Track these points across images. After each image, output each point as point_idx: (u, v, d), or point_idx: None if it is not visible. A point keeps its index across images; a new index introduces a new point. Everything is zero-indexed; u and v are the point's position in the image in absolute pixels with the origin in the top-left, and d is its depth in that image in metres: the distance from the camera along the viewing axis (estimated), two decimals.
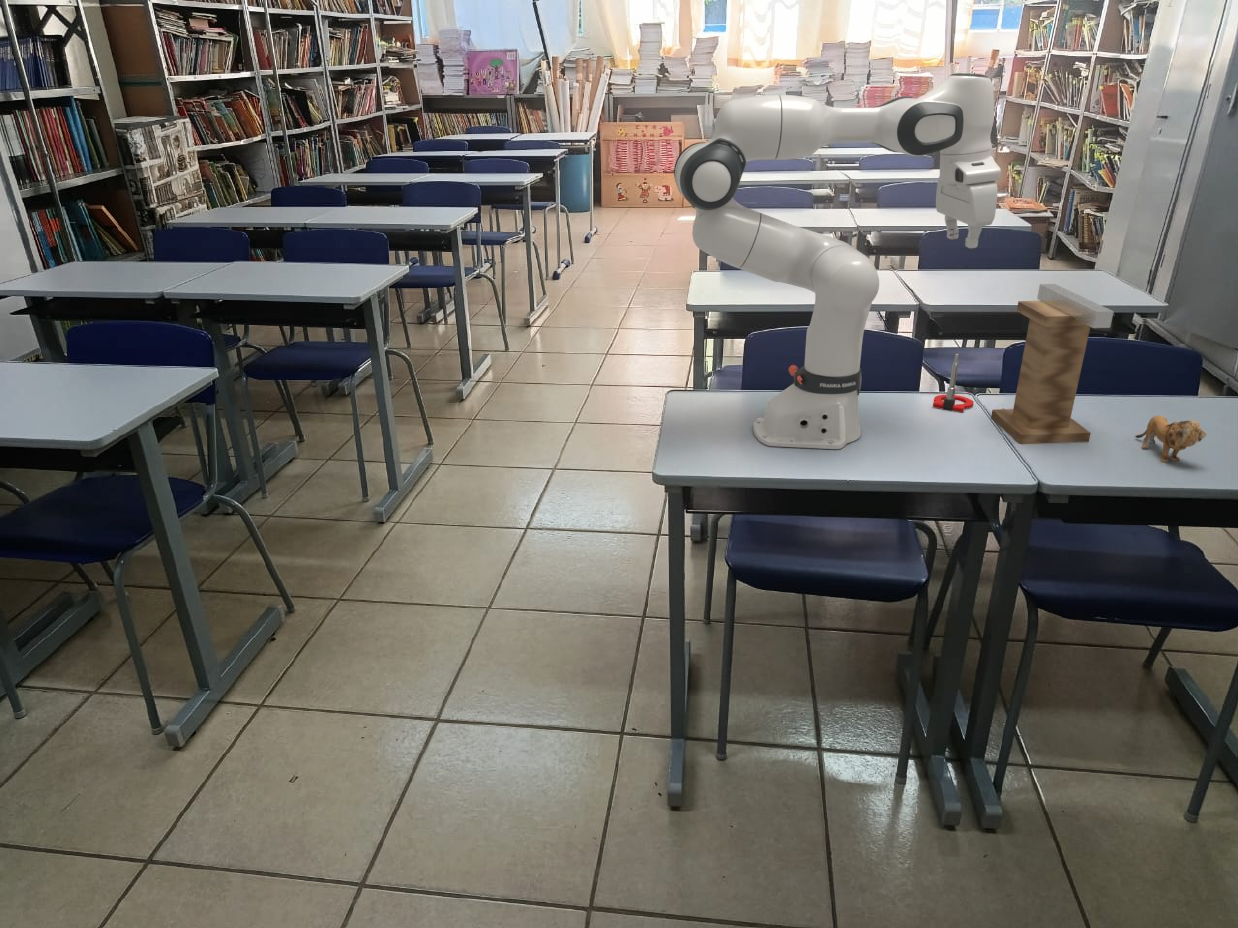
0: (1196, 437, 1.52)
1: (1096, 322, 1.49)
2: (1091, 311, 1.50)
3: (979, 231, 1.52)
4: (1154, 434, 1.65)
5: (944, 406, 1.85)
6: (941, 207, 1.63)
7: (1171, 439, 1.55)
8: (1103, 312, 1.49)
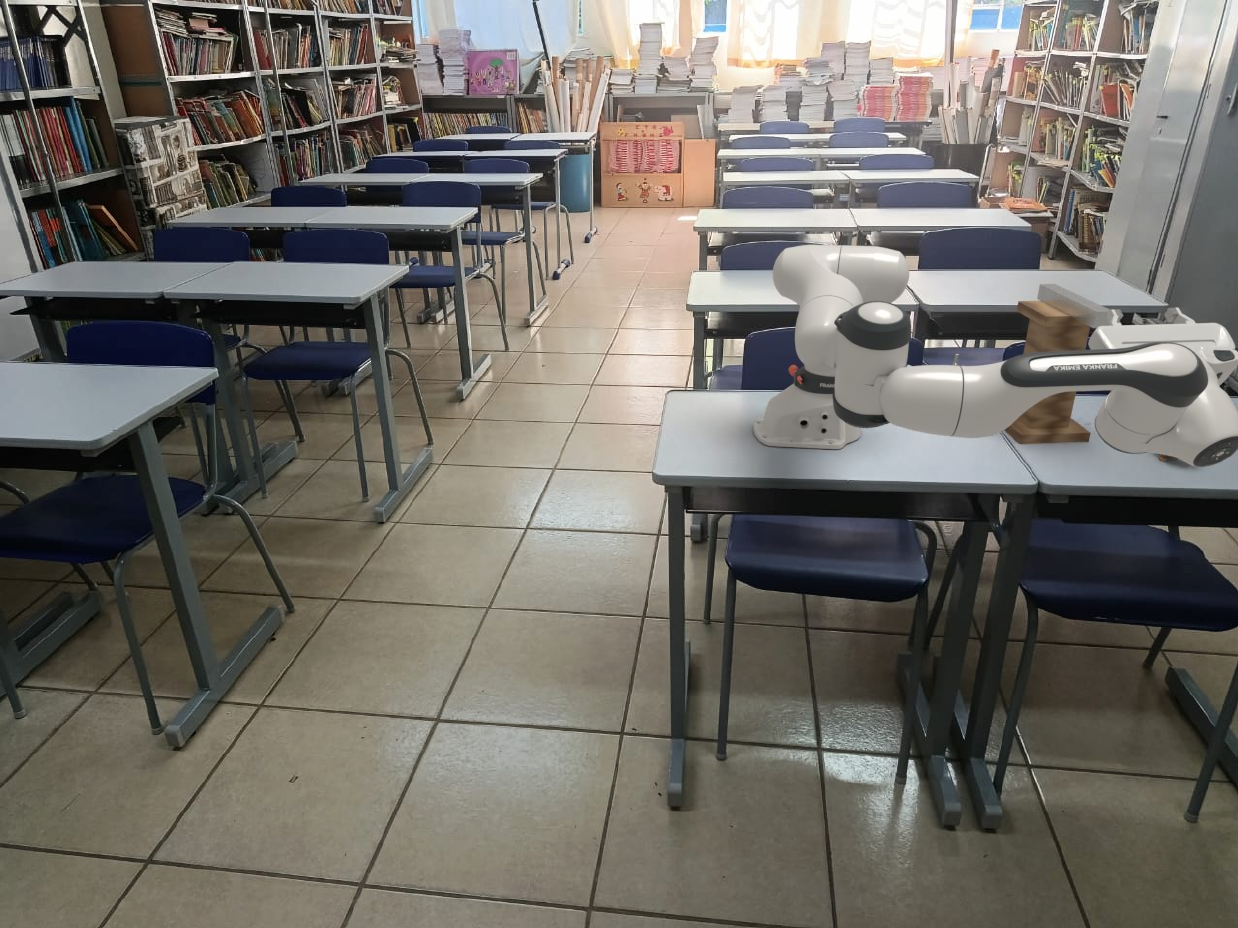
0: None
1: (1096, 322, 1.49)
2: (1091, 311, 1.50)
3: None
4: None
5: None
6: None
7: None
8: (1103, 312, 1.49)
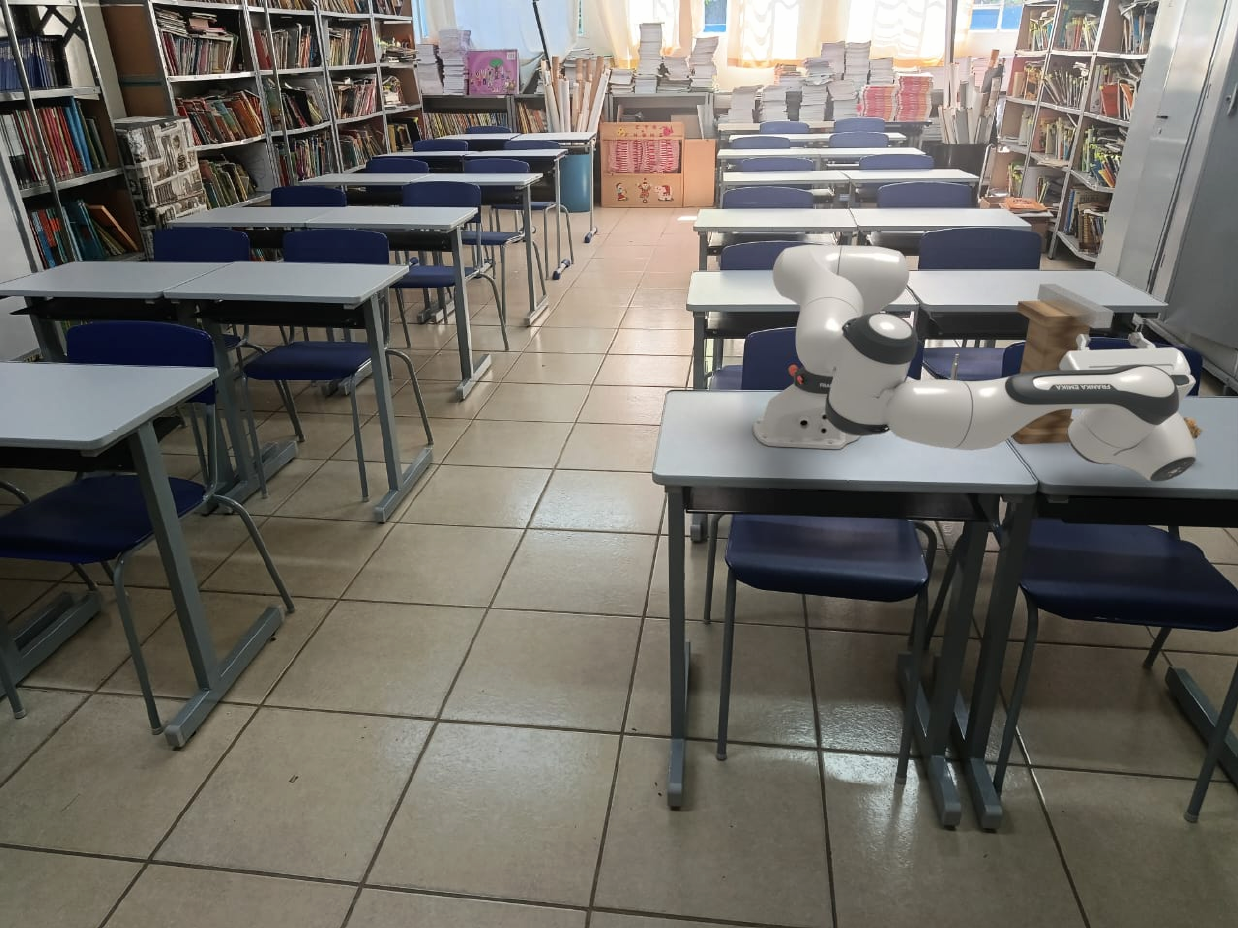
0: (1192, 434, 1.54)
1: (1096, 322, 1.49)
2: (1091, 311, 1.50)
3: None
4: None
5: None
6: None
7: None
8: (1103, 312, 1.49)
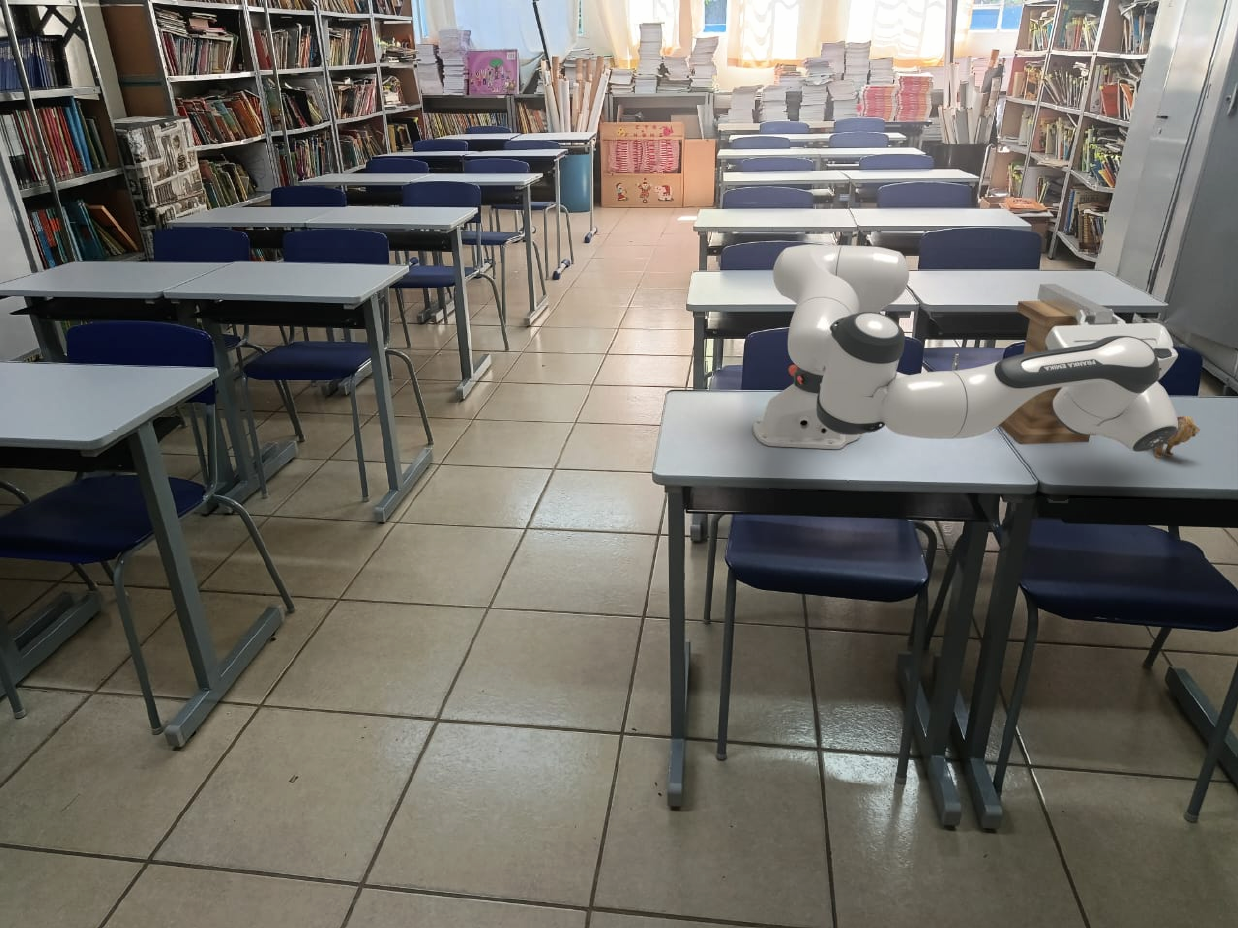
0: (1190, 433, 1.54)
1: (1096, 322, 1.49)
2: (1091, 311, 1.50)
3: None
4: None
5: None
6: None
7: None
8: (1103, 312, 1.49)
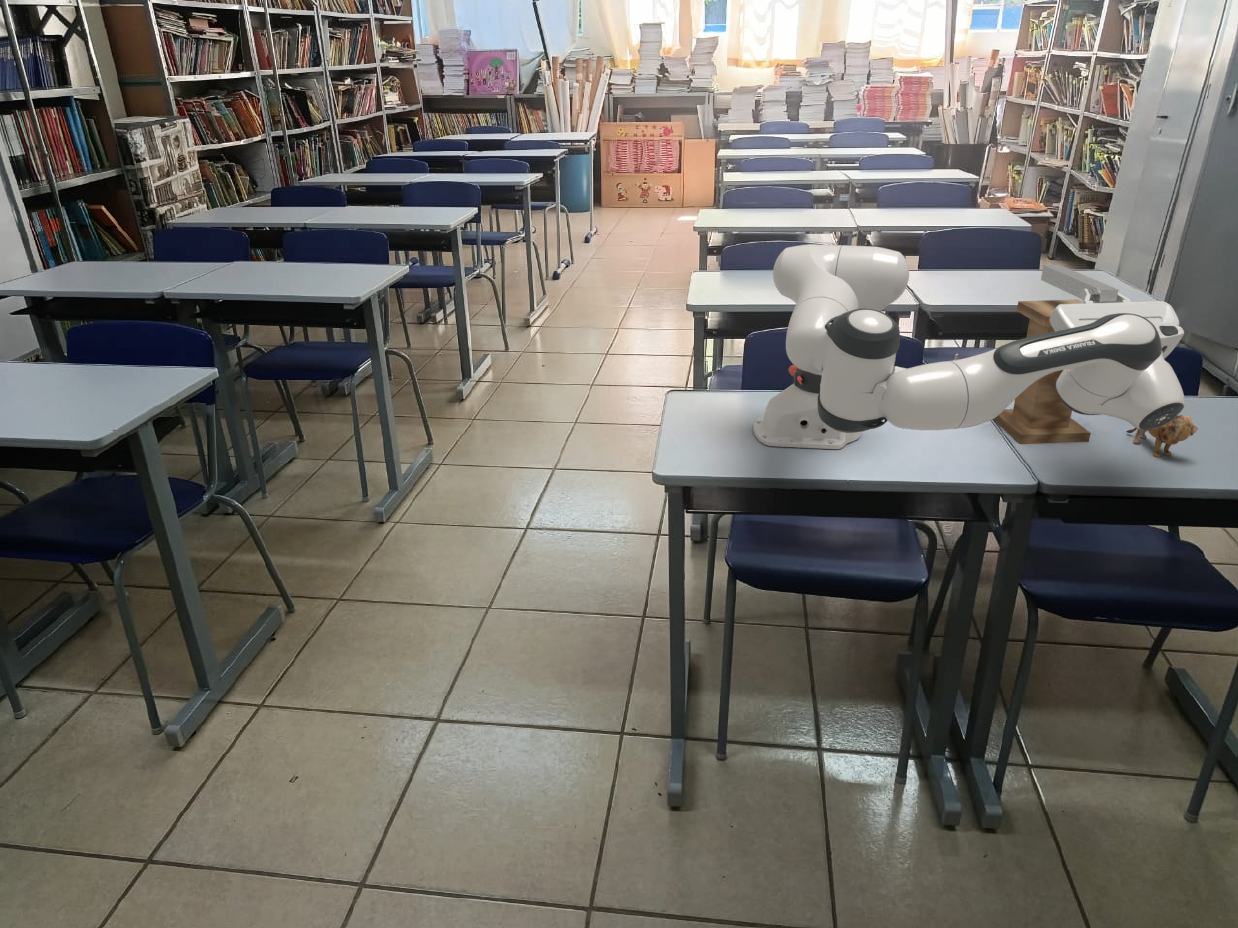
0: (1188, 431, 1.55)
1: (1101, 301, 1.48)
2: (1096, 290, 1.49)
3: None
4: None
5: None
6: None
7: (1164, 434, 1.58)
8: (1108, 290, 1.47)
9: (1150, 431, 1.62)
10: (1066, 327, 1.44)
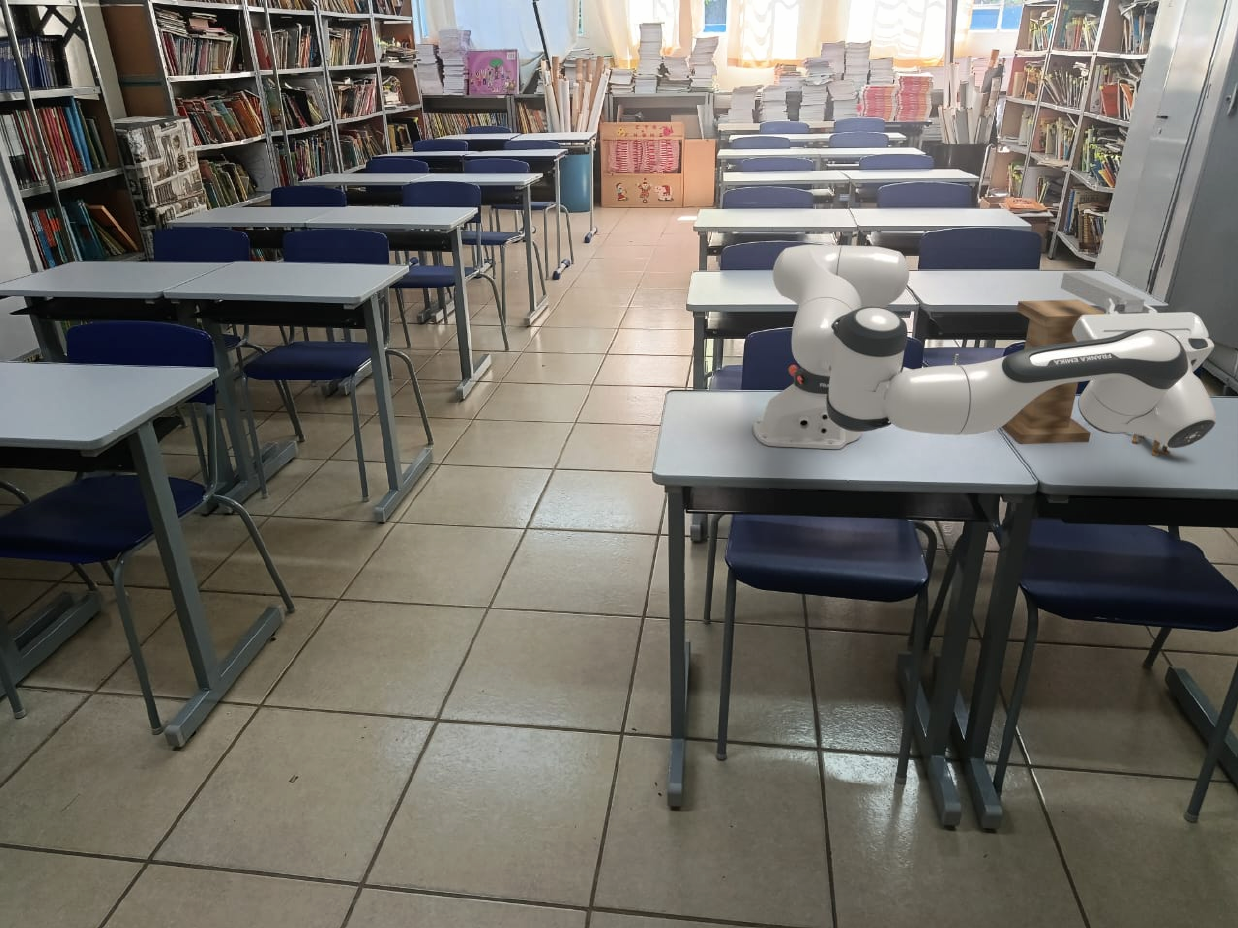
0: None
1: (1126, 311, 1.42)
2: (1121, 300, 1.42)
3: None
4: None
5: None
6: None
7: None
8: (1133, 300, 1.41)
9: None
10: (1090, 339, 1.38)
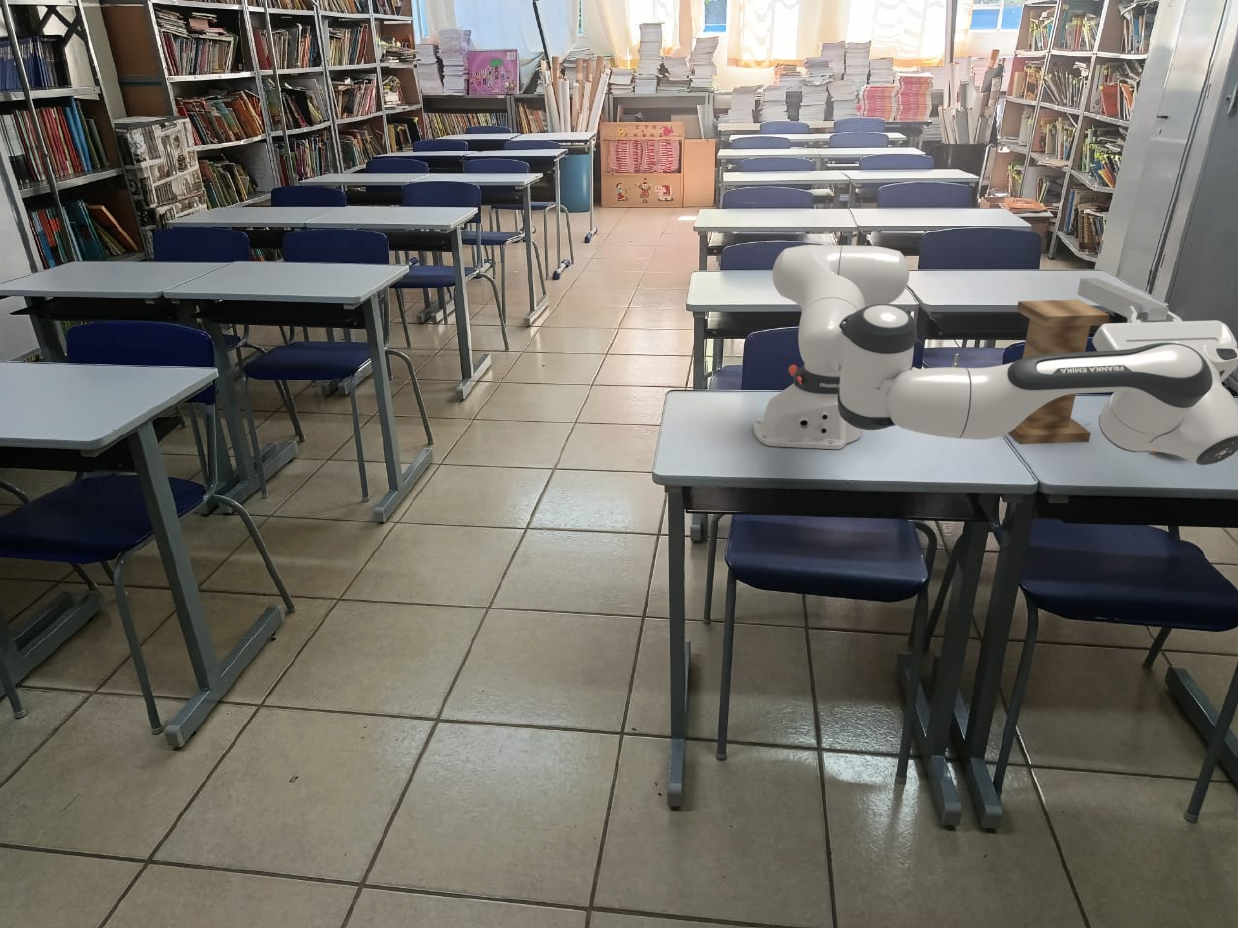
0: None
1: (1149, 320, 1.35)
2: (1143, 307, 1.35)
3: None
4: None
5: None
6: None
7: None
8: (1157, 308, 1.34)
9: None
10: (1112, 349, 1.31)
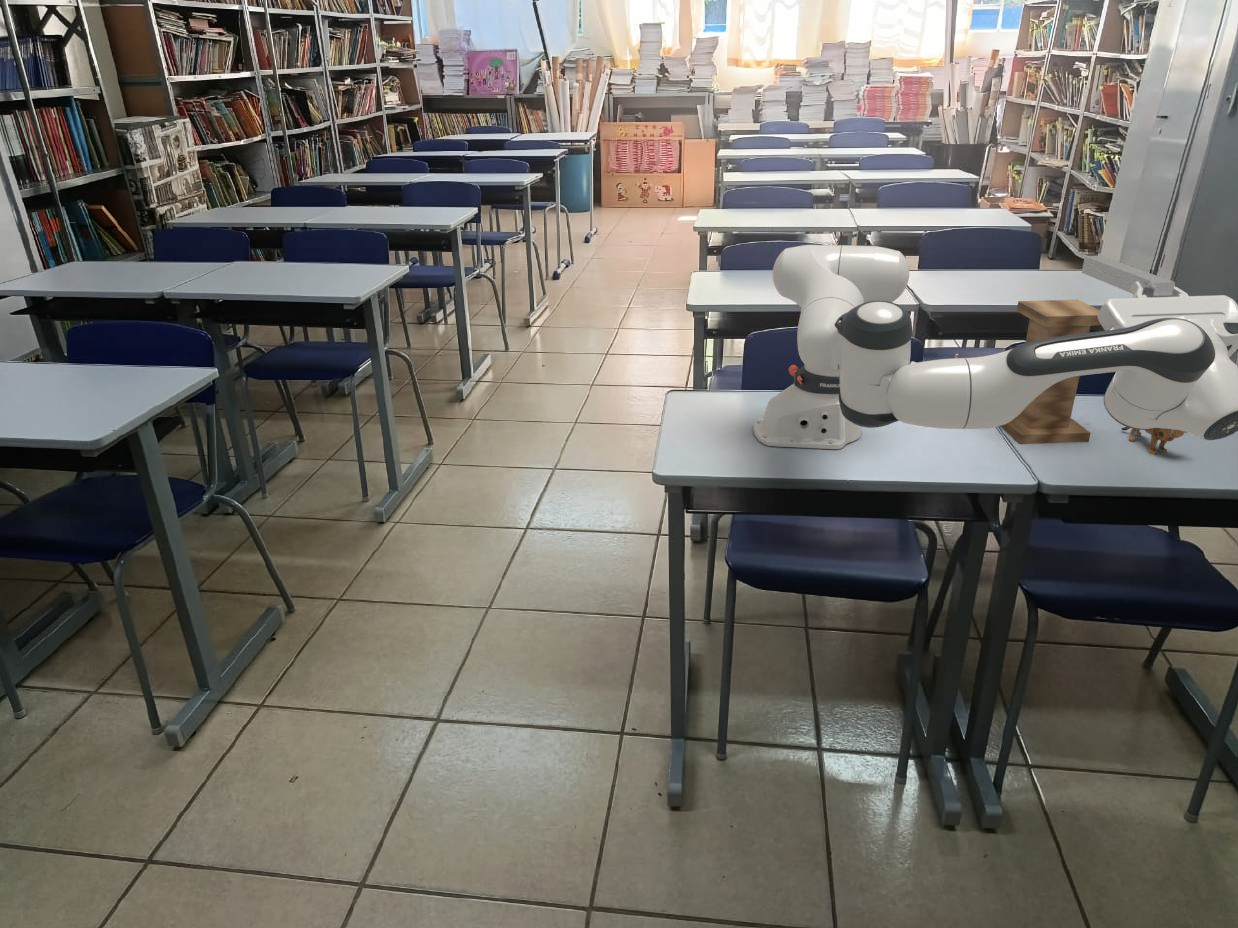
0: None
1: (1155, 295, 1.33)
2: (1149, 283, 1.34)
3: None
4: None
5: None
6: None
7: (1160, 431, 1.59)
8: (1163, 283, 1.32)
9: None
10: (1118, 325, 1.29)
